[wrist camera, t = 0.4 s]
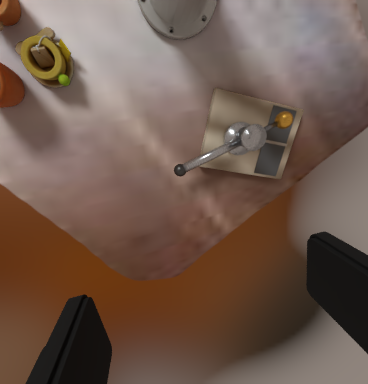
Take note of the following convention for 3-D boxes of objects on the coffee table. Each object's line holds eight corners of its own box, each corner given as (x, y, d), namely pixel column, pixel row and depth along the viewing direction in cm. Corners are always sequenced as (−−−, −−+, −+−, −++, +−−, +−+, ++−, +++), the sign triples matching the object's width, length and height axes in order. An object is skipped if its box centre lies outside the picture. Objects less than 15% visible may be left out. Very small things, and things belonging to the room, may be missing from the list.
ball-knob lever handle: (279, 101, 37) (295, 98, 33) (287, 132, 39) (303, 132, 35) (166, 155, 37) (168, 159, 33) (179, 183, 39) (183, 190, 35)
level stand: (213, 89, 37) (217, 87, 35) (298, 110, 40) (305, 109, 39) (198, 165, 41) (200, 166, 39) (276, 177, 44) (281, 179, 43)
